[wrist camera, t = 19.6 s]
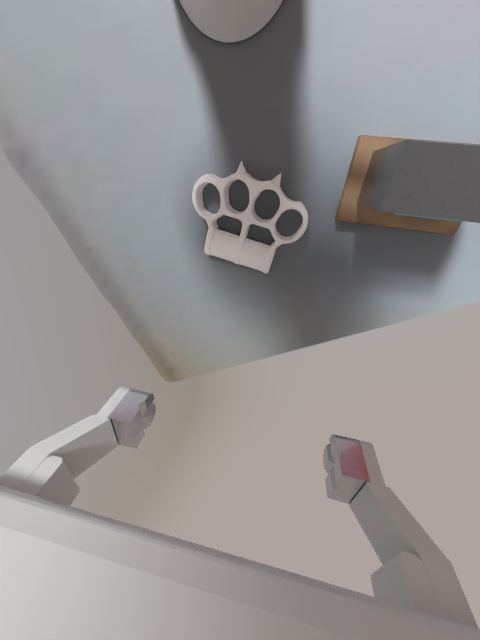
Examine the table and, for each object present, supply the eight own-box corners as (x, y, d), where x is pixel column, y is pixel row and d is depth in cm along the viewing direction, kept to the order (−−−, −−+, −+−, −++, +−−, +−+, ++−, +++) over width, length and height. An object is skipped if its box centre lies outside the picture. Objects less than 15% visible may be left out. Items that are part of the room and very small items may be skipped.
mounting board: (358, 137, 31) (361, 135, 29) (493, 148, 29) (502, 146, 27) (335, 219, 36) (336, 220, 34) (447, 232, 34) (453, 234, 33)
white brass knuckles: (191, 245, 43) (205, 149, 35) (285, 275, 42) (321, 184, 34) (184, 249, 40) (197, 146, 32) (285, 282, 39) (323, 185, 31)
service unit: (374, 148, 30) (406, 135, 21) (477, 157, 28) (556, 147, 20) (355, 205, 33) (377, 214, 25) (447, 216, 32) (503, 229, 23)
